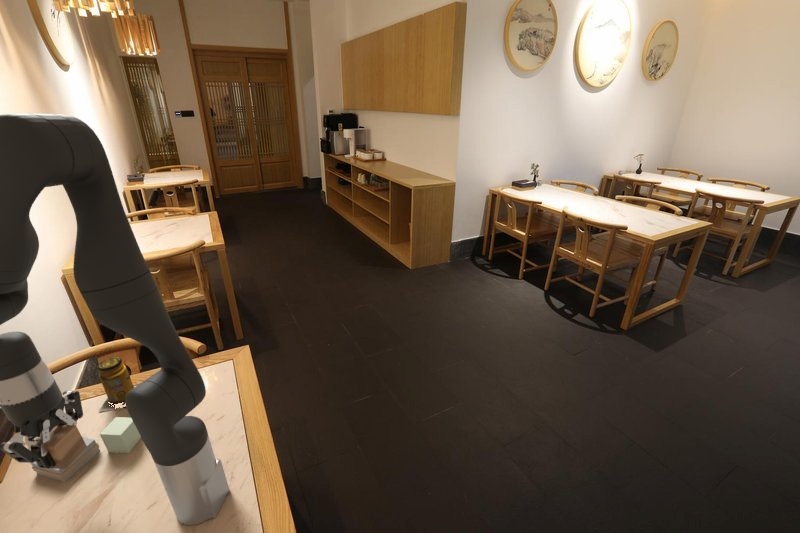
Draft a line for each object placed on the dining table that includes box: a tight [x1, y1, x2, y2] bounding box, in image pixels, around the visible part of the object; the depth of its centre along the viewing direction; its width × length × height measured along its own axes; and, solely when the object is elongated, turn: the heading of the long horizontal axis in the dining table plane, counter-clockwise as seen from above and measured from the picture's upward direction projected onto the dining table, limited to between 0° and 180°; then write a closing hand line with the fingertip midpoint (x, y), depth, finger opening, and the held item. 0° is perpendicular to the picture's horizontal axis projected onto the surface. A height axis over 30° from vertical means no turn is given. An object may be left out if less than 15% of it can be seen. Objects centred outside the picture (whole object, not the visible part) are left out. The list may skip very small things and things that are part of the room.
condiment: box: [97, 356, 135, 413], centre depth 99 cm, size 7×8×12 cm
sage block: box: [99, 416, 142, 454], centre depth 88 cm, size 5×5×6 cm
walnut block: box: [37, 425, 87, 469], centre depth 72 cm, size 5×5×6 cm
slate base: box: [30, 436, 100, 483], centre depth 84 cm, size 8×8×4 cm
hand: (62, 453), depth 72 cm, fingers closed on walnut block, 5 cm apart
